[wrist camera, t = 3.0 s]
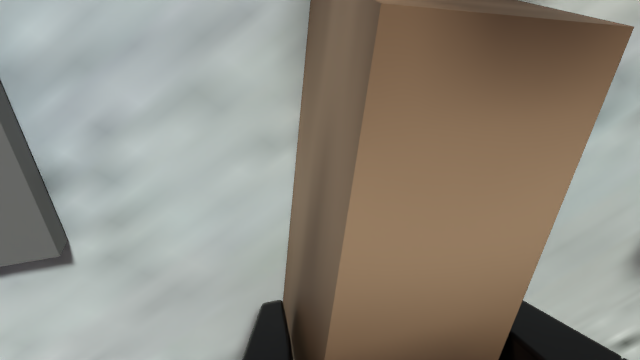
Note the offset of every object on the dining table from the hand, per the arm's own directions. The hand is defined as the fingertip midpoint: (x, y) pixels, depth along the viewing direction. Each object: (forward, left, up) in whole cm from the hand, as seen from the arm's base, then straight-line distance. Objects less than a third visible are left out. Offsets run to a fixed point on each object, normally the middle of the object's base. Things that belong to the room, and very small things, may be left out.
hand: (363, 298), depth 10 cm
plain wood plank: (0, 0, -1) cm, 1 cm away
